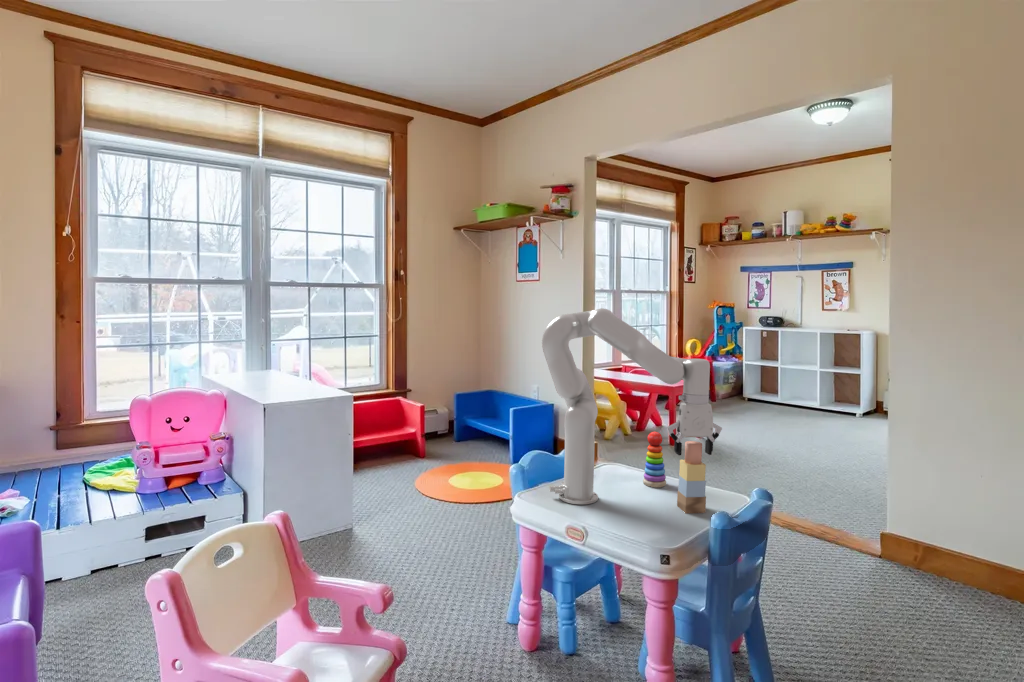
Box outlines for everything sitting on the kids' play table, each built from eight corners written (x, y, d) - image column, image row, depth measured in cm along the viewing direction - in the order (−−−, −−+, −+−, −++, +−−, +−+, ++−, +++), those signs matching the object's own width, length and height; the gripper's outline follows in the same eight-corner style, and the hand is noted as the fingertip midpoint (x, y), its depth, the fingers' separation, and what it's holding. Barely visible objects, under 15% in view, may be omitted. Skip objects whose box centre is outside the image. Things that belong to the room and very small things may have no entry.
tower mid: (686, 497, 179) (686, 481, 179) (678, 490, 185) (679, 475, 184) (705, 496, 180) (705, 480, 179) (696, 490, 186) (697, 474, 185)
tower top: (686, 481, 179) (687, 465, 178) (679, 475, 184) (679, 459, 184) (705, 480, 179) (705, 464, 179) (697, 474, 185) (697, 459, 185)
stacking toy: (664, 481, 210) (666, 429, 208) (667, 488, 202) (669, 435, 200) (641, 480, 210) (643, 429, 209) (644, 487, 202) (646, 434, 201)
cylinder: (688, 464, 179) (689, 445, 178) (681, 460, 184) (682, 441, 183) (704, 464, 179) (705, 445, 179) (697, 459, 184) (698, 441, 184)
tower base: (685, 513, 179) (685, 497, 179) (677, 506, 185) (677, 490, 185) (705, 513, 180) (706, 497, 179) (696, 505, 186) (697, 490, 186)
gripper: (673, 401, 175) (670, 457, 177) (728, 401, 177) (725, 457, 178) (663, 397, 183) (661, 451, 184) (716, 396, 185) (714, 450, 186)
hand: (693, 454), depth 181 cm, fingers open, 9 cm apart
